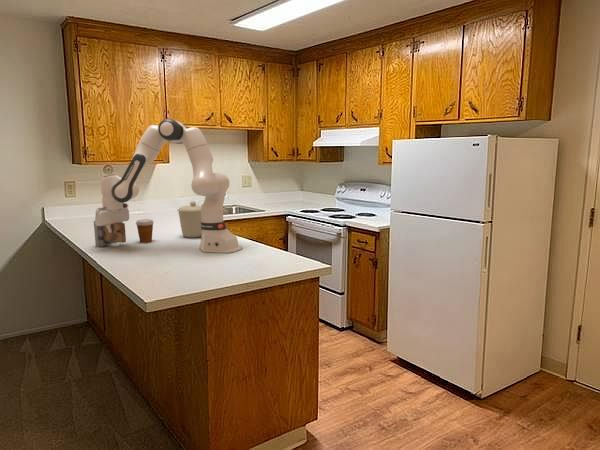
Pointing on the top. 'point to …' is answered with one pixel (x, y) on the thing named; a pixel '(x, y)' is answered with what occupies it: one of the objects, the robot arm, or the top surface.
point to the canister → (190, 220)
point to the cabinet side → (100, 236)
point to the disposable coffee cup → (145, 230)
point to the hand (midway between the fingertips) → (113, 231)
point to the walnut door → (115, 233)
